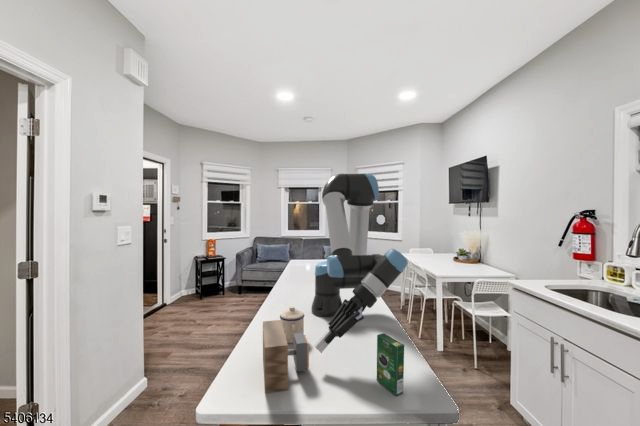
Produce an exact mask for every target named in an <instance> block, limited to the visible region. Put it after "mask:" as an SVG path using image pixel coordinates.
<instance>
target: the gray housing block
mask: <svg viewBox="0 0 640 426" xmlns="http://www.w3.org/2000/svg"><path fill="white" fill-rule="evenodd" d="M309 343H310V342H309V340H308V337H307V335H306V334H305V333H304V334H303V333H294V343H293V348H291V349H290V348H288V357H289V356H293V362H294V365H295V370H296V372H303V371H308V368H309V367H310V350H309V349H310V344H309Z"/></svg>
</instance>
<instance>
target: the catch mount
mask: <svg viewBox="0 0 640 426" xmlns="http://www.w3.org/2000/svg"><path fill="white" fill-rule="evenodd" d="M288 344H289V343H287V340H286V336H285V332H284V328H283V324H282V320H280V319H276V320H265V321H262V363H263V365H262V366H263V368H262V369H263V382H264V393H265V394H269V393H270V394H271V393H276V392H277V393H278V392H285V391H289V356H288V350H289V345H288Z"/></svg>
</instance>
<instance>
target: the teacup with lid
mask: <svg viewBox="0 0 640 426" xmlns="http://www.w3.org/2000/svg"><path fill="white" fill-rule="evenodd" d="M304 313H305V312H303V311H302V310H298V309H296V307H295V306H289V308H288V309H286V310H284V311H281V313H280V314H279V318H280V319H279V320H282V324H283V328H284V332H285V336H286V340H287V344H294V333H303V334H304V335H305V333H304V332H305V327H304V326H305V325H304V324H305V320H304V319H305V318H304V317H305V314H304Z"/></svg>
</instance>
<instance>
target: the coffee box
mask: <svg viewBox="0 0 640 426" xmlns="http://www.w3.org/2000/svg"><path fill="white" fill-rule="evenodd" d="M404 365H405V344H404V343H402V342H400V341H398V340H397V339H395V338H393V337H391V336H390V335H388V334H387V333H385V332H384V333H379V334H377V335H376V381H377V382H378V383H379V384H380V385H381V386H384V387H385V389H387V390H388V391H390V392H391V393H392V394H394V396H396V397H397V396H399V395H402V394H403V393H404V372H405V371H404V370H405V369H404V367H405V366H404Z"/></svg>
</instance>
